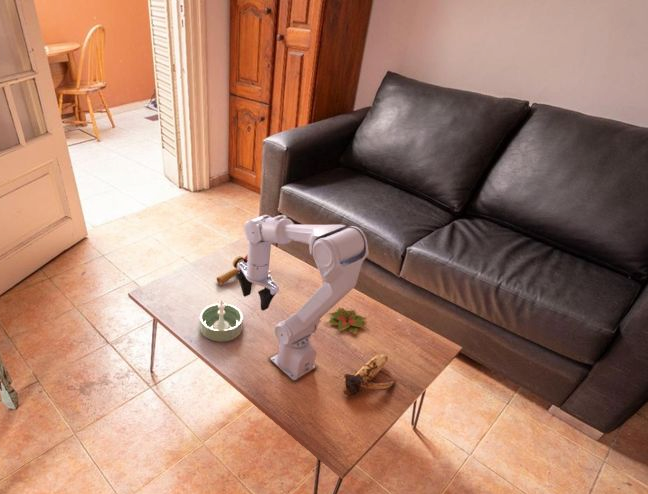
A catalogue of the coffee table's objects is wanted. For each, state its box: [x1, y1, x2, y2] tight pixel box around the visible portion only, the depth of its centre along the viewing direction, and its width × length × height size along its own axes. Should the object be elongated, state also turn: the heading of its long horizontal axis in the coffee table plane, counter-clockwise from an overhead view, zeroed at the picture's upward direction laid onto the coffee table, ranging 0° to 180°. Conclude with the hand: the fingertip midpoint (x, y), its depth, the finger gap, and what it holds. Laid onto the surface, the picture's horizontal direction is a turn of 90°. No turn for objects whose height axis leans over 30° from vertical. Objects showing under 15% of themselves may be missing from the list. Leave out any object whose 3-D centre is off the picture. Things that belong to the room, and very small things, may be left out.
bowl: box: [199, 302, 244, 342], centre depth 124 cm, size 12×12×4 cm
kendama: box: [216, 253, 248, 286], centre depth 144 cm, size 8×6×18 cm
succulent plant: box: [327, 306, 367, 336], centre depth 127 cm, size 12×12×5 cm
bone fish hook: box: [343, 353, 395, 398], centre depth 109 cm, size 9×5×18 cm
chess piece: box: [213, 299, 230, 330], centre depth 122 cm, size 5×5×10 cm
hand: (255, 301), depth 118 cm, fingers open, 7 cm apart
